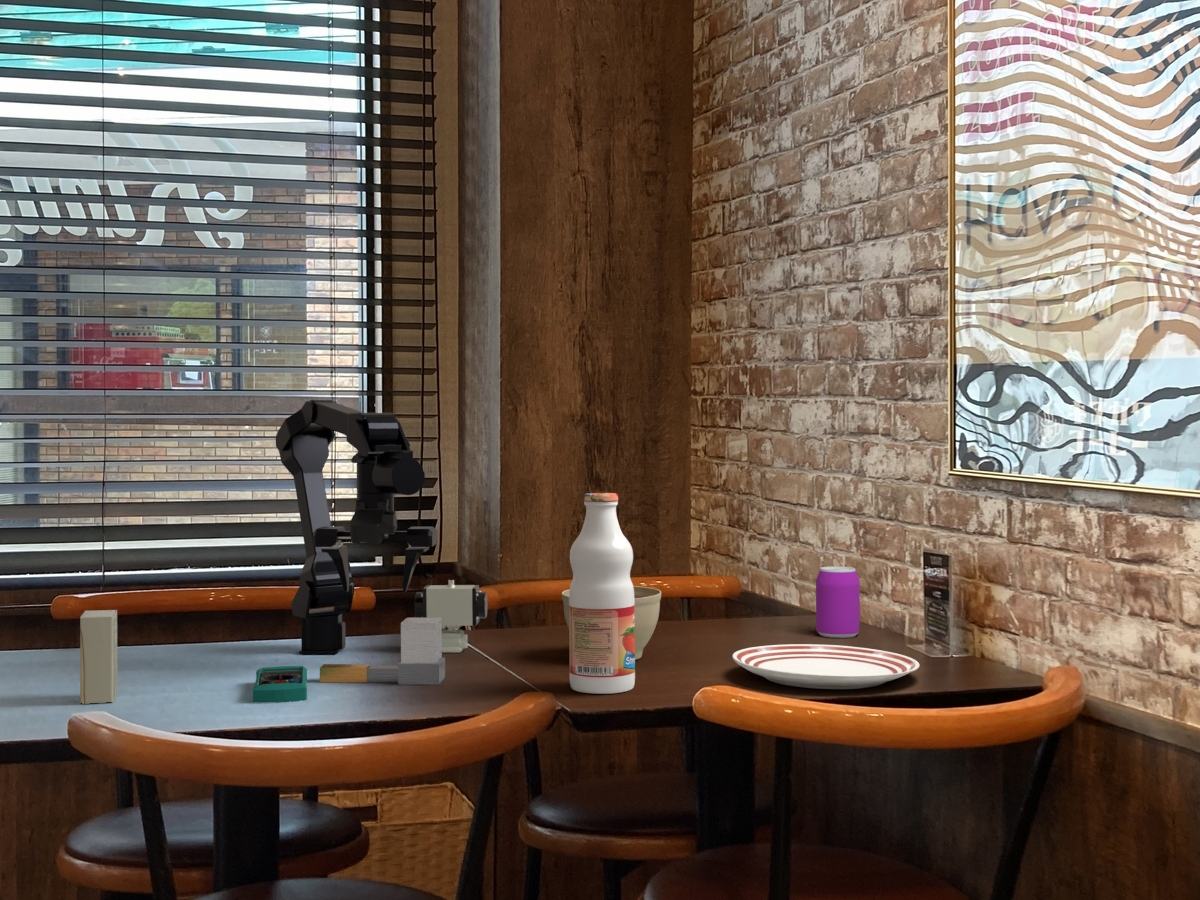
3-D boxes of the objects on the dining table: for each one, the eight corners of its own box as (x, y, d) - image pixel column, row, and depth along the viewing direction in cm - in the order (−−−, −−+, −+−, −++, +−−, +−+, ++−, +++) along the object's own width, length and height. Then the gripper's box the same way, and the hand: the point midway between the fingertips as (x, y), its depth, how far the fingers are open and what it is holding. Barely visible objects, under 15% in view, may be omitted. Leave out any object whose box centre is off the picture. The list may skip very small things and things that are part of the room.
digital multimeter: (252, 707, 176) (252, 685, 176) (256, 685, 191) (256, 665, 191) (307, 704, 178) (306, 683, 178) (307, 683, 192) (307, 663, 192)
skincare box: (85, 696, 182) (84, 610, 182) (119, 694, 183) (117, 608, 183) (79, 705, 176) (78, 616, 176) (114, 703, 177) (113, 615, 177)
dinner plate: (853, 657, 210) (853, 636, 210) (958, 688, 184) (958, 665, 184) (701, 669, 200) (701, 648, 200) (789, 704, 174) (789, 680, 174)
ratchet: (316, 684, 189) (316, 647, 189) (326, 676, 195) (326, 640, 195) (439, 684, 189) (438, 647, 188) (445, 676, 195) (444, 640, 194)
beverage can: (810, 632, 233) (809, 566, 233) (850, 631, 234) (850, 565, 234) (825, 639, 225) (824, 571, 225) (866, 638, 227) (866, 570, 227)
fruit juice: (562, 684, 188) (561, 492, 188) (624, 680, 191) (622, 491, 190) (579, 697, 179) (577, 495, 179) (643, 692, 182) (642, 494, 181)
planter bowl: (547, 654, 213) (547, 588, 213) (636, 647, 220) (635, 583, 219) (585, 670, 198) (584, 600, 198) (678, 662, 205) (678, 594, 205)
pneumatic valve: (485, 653, 214) (484, 581, 214) (414, 654, 214) (414, 582, 214) (488, 648, 219) (488, 577, 219) (420, 648, 220) (419, 578, 219)
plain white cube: (401, 663, 189) (400, 622, 189) (407, 657, 194) (407, 617, 194) (436, 663, 189) (436, 622, 189) (441, 657, 194) (441, 617, 194)
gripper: (303, 495, 194) (303, 598, 195) (426, 495, 194) (426, 599, 194) (320, 491, 206) (321, 588, 206) (437, 491, 205) (437, 589, 205)
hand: (375, 591), depth 203 cm, fingers open, 9 cm apart
